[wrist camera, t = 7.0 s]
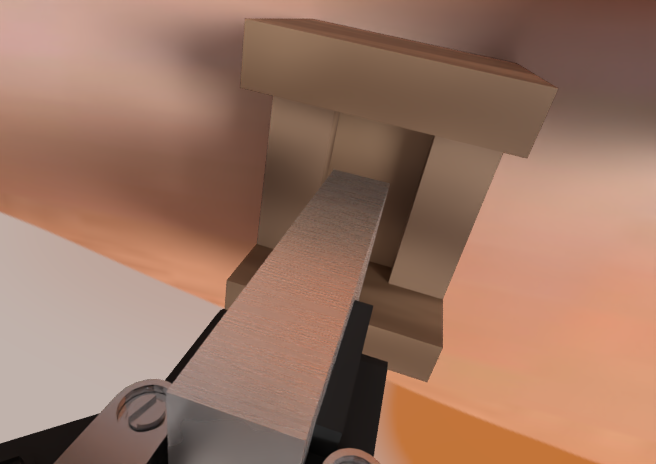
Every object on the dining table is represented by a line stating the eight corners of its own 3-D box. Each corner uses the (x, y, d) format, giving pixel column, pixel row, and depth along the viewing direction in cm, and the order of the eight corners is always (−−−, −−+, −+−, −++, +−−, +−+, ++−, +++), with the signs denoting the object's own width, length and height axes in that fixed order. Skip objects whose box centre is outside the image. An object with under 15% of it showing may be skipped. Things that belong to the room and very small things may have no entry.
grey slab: (334, 169, 14) (166, 391, 6) (389, 183, 14) (305, 440, 5) (308, 302, 17) (171, 586, 8) (354, 316, 17) (262, 623, 8)
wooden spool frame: (312, 18, 20) (244, 18, 13) (516, 63, 19) (558, 88, 12) (280, 239, 27) (224, 316, 20) (431, 283, 25) (427, 382, 18)
